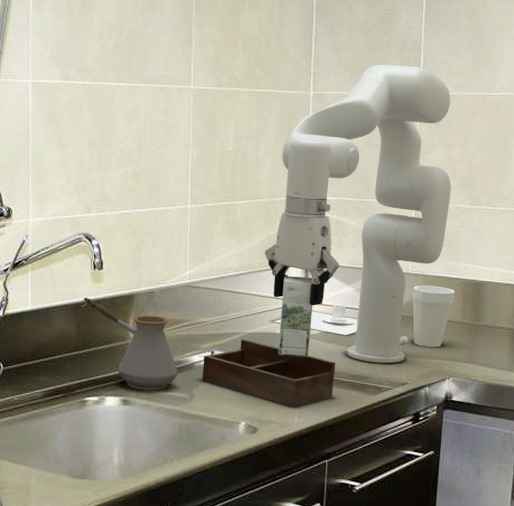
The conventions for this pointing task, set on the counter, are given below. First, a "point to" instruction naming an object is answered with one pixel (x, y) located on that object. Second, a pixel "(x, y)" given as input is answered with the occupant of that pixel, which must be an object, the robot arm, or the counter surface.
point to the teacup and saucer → (333, 321)
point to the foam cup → (431, 314)
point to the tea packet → (295, 317)
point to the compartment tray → (271, 374)
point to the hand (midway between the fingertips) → (297, 299)
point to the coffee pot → (145, 352)
